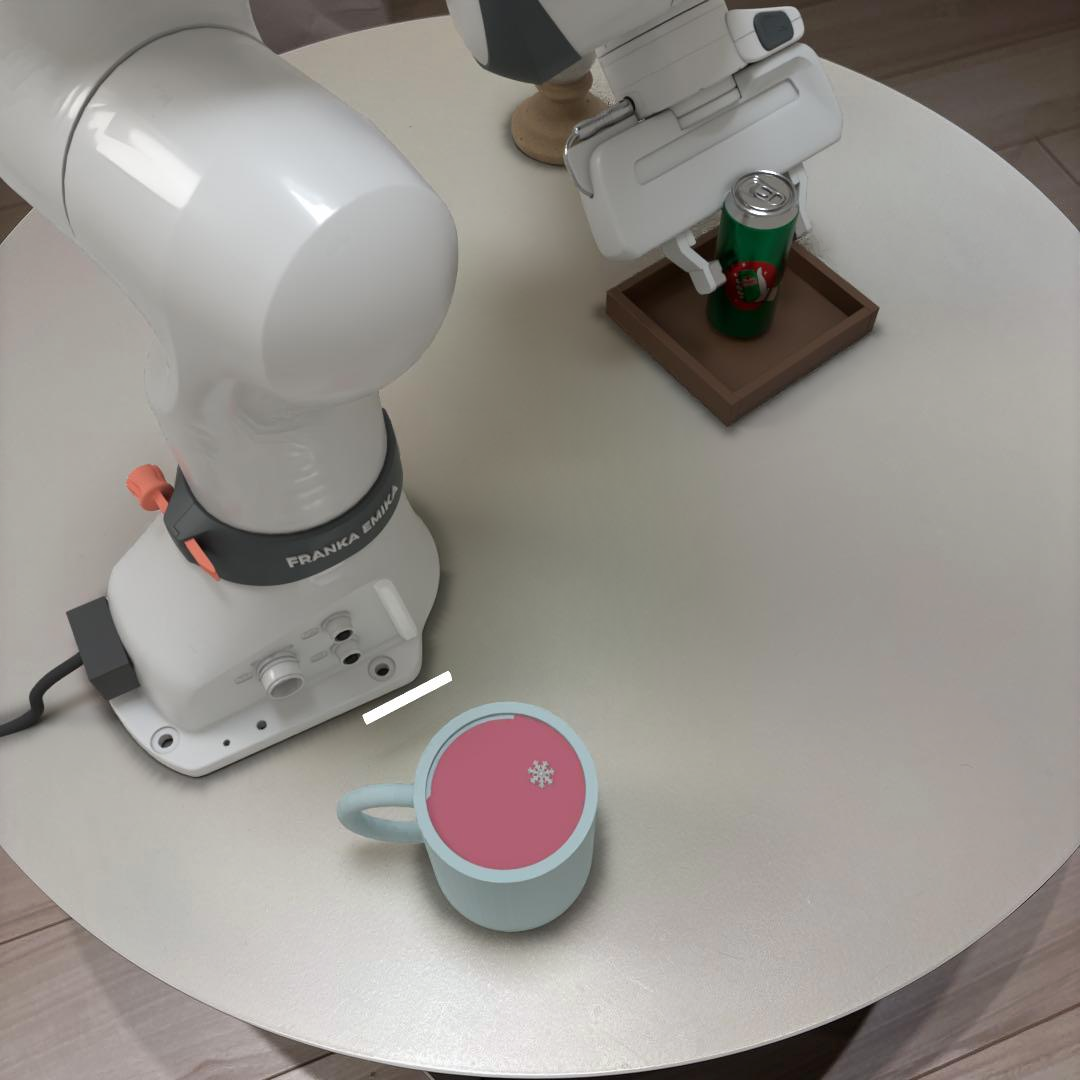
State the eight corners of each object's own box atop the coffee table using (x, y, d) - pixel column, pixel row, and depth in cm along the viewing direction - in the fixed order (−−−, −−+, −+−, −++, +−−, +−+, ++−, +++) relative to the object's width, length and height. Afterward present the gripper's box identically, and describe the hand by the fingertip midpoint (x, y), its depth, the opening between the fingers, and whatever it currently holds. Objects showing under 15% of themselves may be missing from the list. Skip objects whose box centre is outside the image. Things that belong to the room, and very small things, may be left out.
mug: (593, 772, 67) (599, 704, 59) (591, 934, 62) (596, 886, 54) (362, 765, 68) (334, 696, 59) (342, 925, 63) (309, 876, 54)
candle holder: (509, 165, 95) (498, -74, 78) (514, 97, 100) (505, -144, 82) (614, 167, 95) (627, -73, 77) (615, 98, 99) (627, -143, 82)
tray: (727, 426, 80) (731, 405, 78) (605, 313, 86) (606, 290, 84) (872, 329, 85) (880, 307, 83) (747, 228, 91) (751, 205, 89)
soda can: (731, 282, 87) (754, 154, 77) (786, 314, 85) (817, 188, 75) (691, 320, 85) (710, 194, 75) (746, 353, 83) (773, 230, 73)
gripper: (575, 124, 70) (667, 329, 74) (816, -2, 76) (888, 193, 80) (532, 146, 75) (620, 335, 79) (759, 27, 82) (829, 207, 86)
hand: (756, 263), depth 80 cm, fingers open, 7 cm apart
